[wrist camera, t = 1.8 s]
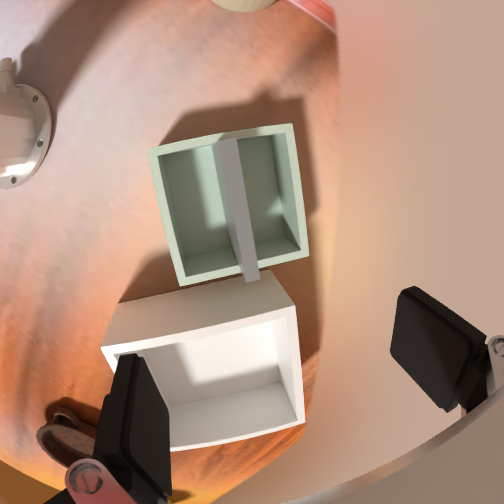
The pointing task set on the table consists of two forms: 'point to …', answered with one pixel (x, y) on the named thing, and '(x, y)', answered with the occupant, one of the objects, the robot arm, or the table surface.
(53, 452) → the dish
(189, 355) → the big crate
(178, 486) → the table surface
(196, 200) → the small crate
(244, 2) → the reusable coffee cup
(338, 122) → the table surface
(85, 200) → the table surface
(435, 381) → the robot arm
